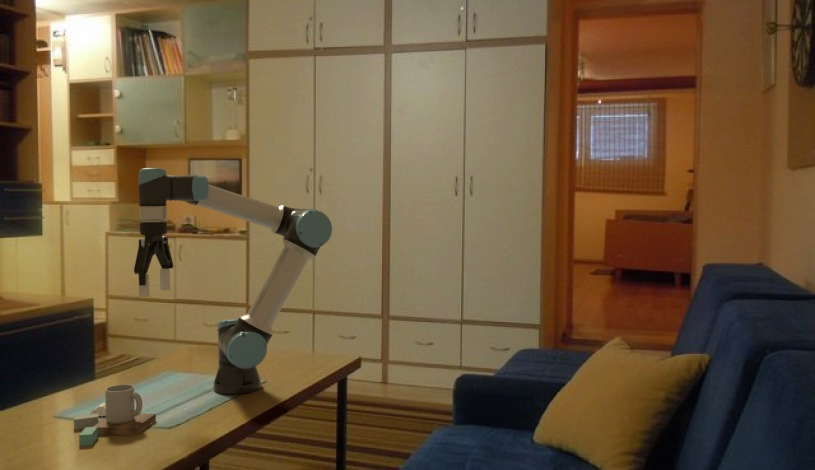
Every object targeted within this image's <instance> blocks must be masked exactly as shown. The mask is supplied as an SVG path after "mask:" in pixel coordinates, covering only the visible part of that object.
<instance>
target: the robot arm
mask: <svg viewBox="0 0 815 470" xmlns="http://www.w3.org/2000/svg"><path fill="white" fill-rule="evenodd" d="M137 185H138V187H137V188H138V203H139V204H138V205H139V208H138V209H139V210H138V213H139V220H140V221H141V222H139V234H140V235H141V236H144V238H139V239H138V248H137V252H136V253H137V254H136V258H135V262H134V263H135V264H134V268H133V272H134V274H135V275H138V296H139V298H142V297H143V298H149V297H150V274H149V273H148V271H149V268H150V266H151V262H152V259H153V256H154V255H155V256H156V259H157V261H158V263H159V265H160V267H161V268H160V269H159V284H160V285H159V287H160V289H159V290H160V291H170V290H171V278H170V277H171V273H170V272H171V271H170V269H173V267H174V261H173V258H172V253H171V251H170V249H171V248H170V246H169V239H168V236H167V234H168V223H167V221H166V220H167V219H168V207H167V201H168V202H169V201H170V202H171V201H172V202H173V201H174V202H175V201H180V202H186V203H188V204H191V205H194V206H195V205H196V206H199V207H201V208H205V209H208V210H211V211H214V212H217V213H221V214H224V215H226V216H230V217H233V218H236V219H239V220H241V221H246V222H249V223H251V224H255V225H259V226H261V227H264V228H268V229H270V230H271V232H272V233H273V234H276V235H278V236H279V235H280V236H281V237H283V238H282V244H283V248H282V250H281V251H280V254H279V255H278V257H277V259H276V261H275V263H274V264H273V266H272V267H271V270H270V272H269V273H268V276H267V277H266V279H265V280H264V281H263V283H262V286H261V288H260V290H259V292H258V293H257V295H256V296H255V299H254V300H253V303H252V304H251V306H250V307H249V310H248V311H247V313H245V314H244V315H241V316H239V318H231V319H230V318H229V319H221V320H220V321H218V324H217V339H218V341H217V342H218V344H217V345H218V348H217V349H218V368H217V371H216V375H215V378H214V380H213V391H214V392H216V393H218V394H222V395H242V394H248V393H252V392H256V391H257V390H259V389H261V387H262V381H261V377H260V375H259V372H258V368H257V366H259V365H260V364H261V363H262V362H263V360H264V359H266V356H267V353H268V344H269V343H270V340H271V338H272V336H273V335H274V333H273V330H272V329H273V328H272V326H273V324H275V323H274V322H275V321H276V319H277V317H278V316H279V314H280V312H281V310H282V308H283V306H284V305H285V303H286V301H287V299H288V297H289V295H290V294H291V292H292V290H293V288H294V286H295V285H296V282H297V281H298V279H299V277H300V275H301V274H302V272H303V270H304V269H305V267H306V264H307V263H308V261H309V260H310V259H313V258H316V256H317V254H318V252H319V251H320V249H321V248H322V247H323V246H324V245H325V244H327V243H328V242H329V240H330V239H331V236H332V233H333V225H332V222H331V219H330V218H329V216H328V215H327V214H326V213H324V212H322V211H320V210H318V209H316V208H309V209H308V208H307V209H306V208H294V207H289V206H285V205H282V204H281V205H279V206H275V205H273V204H270V203H266V202H264V201H261V200H258V199H254V198H251V197H248V196H246V195H243V194H239V193H235V192H233V191H230V190H227V189H224V188H221V187H218V186H214V185H212V184H209V179H208V177H207V176H205V175H198V174H195V175H192V174H191V175H186V174H185V175H184V174H183V175H181V174H180V175H179V174H178V175H172V174H171V175H170V174H167V172H166V169H165V168H162V167H158V168H157V167H156V168H155V167H144V168H141V169H140V170H139V171H138V183H137ZM164 235H166V236H164Z"/></svg>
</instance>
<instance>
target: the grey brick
mask: <svg viewBox="0 0 815 470" xmlns="http://www.w3.org/2000/svg"><path fill="white" fill-rule="evenodd" d="M98 423H99V417H98V414H91V415H88V414H85V415H75V416H73V428H74V430H73V431H77V430H84V429H85V428H86V427H93V426H94V425H96V424H98Z"/></svg>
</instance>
